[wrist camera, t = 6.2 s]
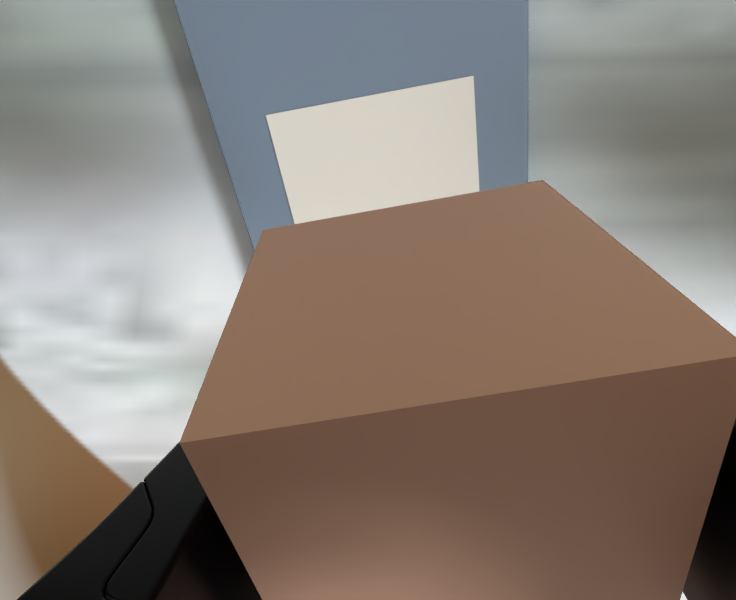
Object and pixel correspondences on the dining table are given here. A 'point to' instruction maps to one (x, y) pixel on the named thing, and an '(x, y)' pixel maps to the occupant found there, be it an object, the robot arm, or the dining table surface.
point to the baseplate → (361, 101)
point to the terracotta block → (462, 408)
